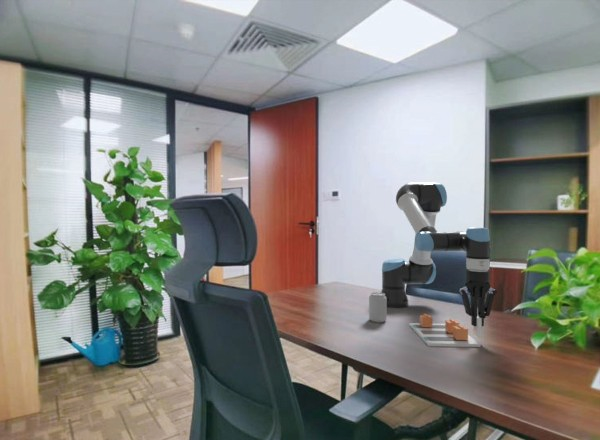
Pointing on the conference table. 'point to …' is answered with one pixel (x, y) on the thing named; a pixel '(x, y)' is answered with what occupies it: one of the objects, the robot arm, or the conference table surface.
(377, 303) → the can
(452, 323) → the tab
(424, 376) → the conference table surface
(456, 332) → the tab
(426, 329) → the panel
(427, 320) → the orange small block
